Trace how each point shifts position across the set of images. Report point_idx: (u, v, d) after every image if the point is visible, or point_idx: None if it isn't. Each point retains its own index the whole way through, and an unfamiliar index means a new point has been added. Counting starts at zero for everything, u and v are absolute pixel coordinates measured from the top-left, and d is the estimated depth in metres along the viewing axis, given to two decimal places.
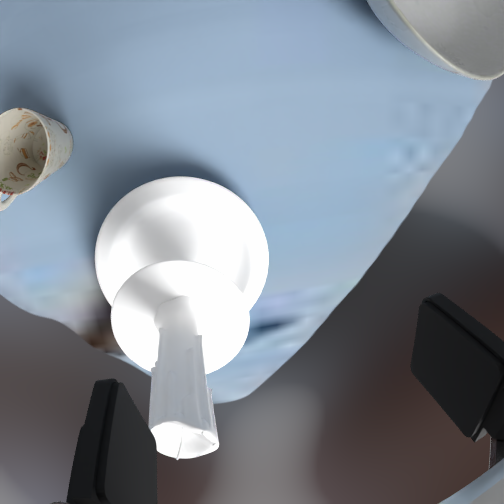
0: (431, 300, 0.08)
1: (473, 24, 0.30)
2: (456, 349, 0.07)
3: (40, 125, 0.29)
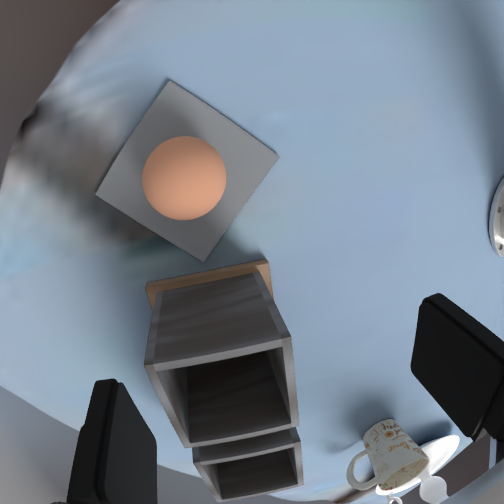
0: (431, 300, 0.08)
1: None
2: (456, 349, 0.07)
3: None
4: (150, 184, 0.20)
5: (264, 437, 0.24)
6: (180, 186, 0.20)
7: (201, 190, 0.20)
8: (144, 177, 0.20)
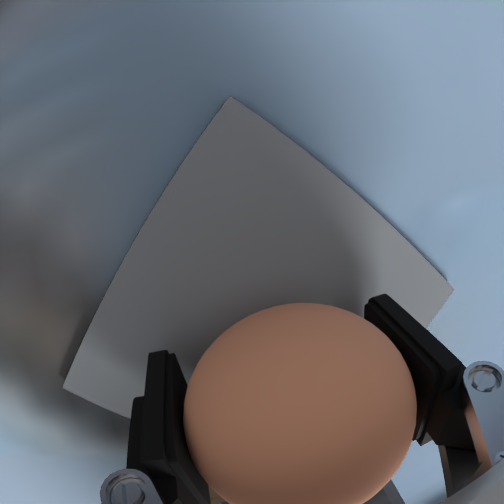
0: (375, 300, 0.09)
1: None
2: None
3: None
4: (230, 498, 0.05)
5: None
6: None
7: (378, 491, 0.05)
8: (201, 465, 0.06)
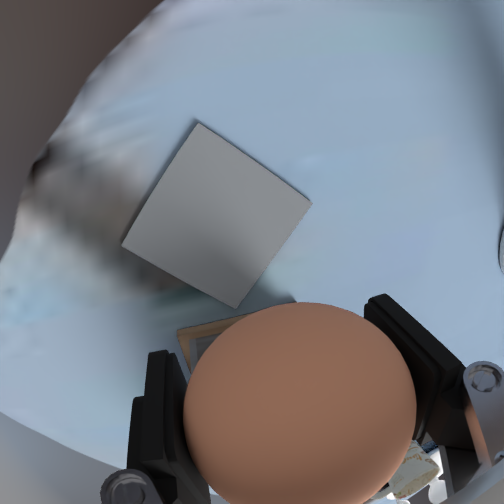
0: (375, 300, 0.09)
1: None
2: None
3: None
4: (230, 497, 0.05)
5: None
6: None
7: (377, 491, 0.05)
8: (201, 464, 0.06)
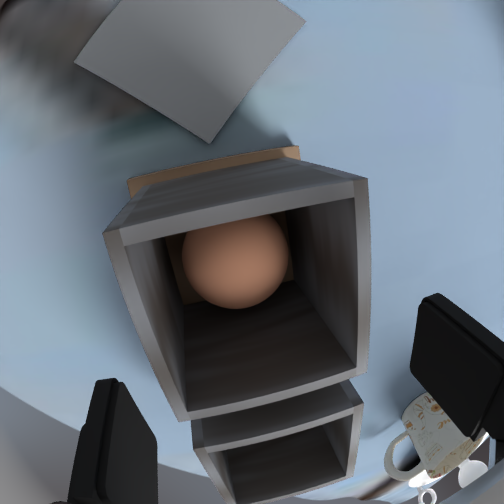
0: (430, 300, 0.08)
1: None
2: (455, 349, 0.07)
3: None
4: (198, 274, 0.16)
5: (306, 402, 0.16)
6: (241, 280, 0.16)
7: (266, 282, 0.16)
8: (188, 261, 0.17)
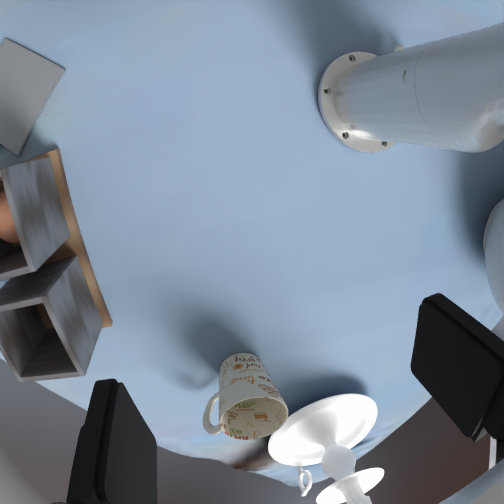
0: (431, 300, 0.08)
1: None
2: (456, 349, 0.07)
3: None
4: None
5: (28, 294, 0.25)
6: (0, 223, 0.24)
7: (11, 225, 0.25)
8: None
